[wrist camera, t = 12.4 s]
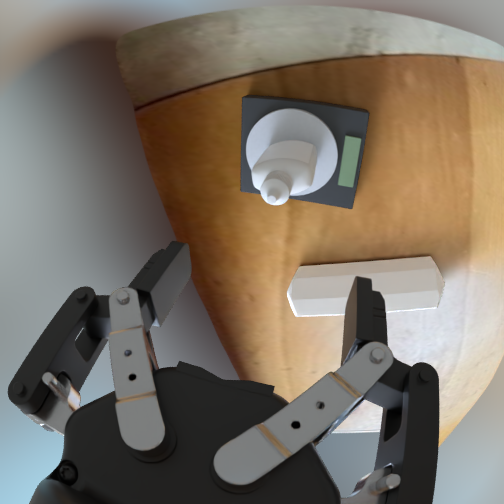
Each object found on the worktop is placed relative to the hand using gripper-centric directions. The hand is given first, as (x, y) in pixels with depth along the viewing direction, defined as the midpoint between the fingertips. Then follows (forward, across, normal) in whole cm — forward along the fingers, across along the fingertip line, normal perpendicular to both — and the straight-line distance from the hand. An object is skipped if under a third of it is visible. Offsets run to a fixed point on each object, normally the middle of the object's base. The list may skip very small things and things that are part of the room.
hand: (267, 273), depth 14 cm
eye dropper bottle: (+22, +2, +2) cm, 22 cm away
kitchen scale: (+25, +1, +2) cm, 25 cm away
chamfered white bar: (+25, -11, +20) cm, 34 cm away
